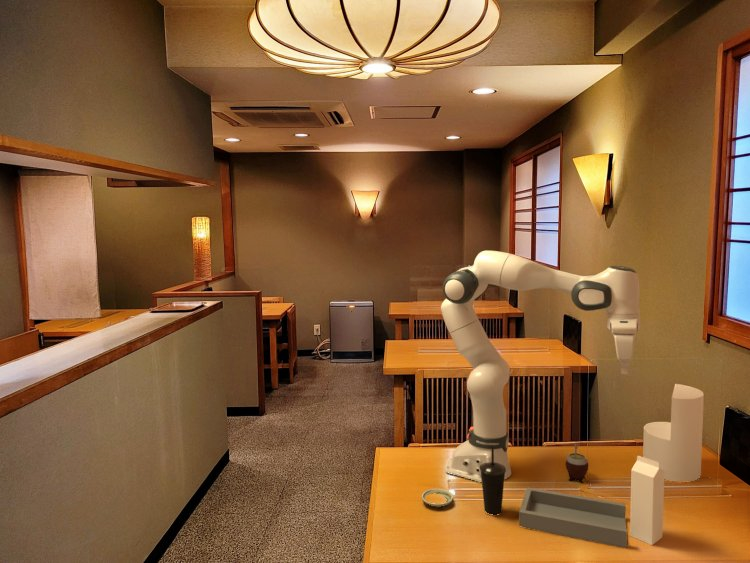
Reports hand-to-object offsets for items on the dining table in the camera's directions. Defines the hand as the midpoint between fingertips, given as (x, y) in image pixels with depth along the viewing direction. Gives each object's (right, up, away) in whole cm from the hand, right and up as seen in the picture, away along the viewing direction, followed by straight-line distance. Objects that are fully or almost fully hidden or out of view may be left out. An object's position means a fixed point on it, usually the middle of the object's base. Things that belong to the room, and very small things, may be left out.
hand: (624, 369), depth 155 cm
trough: (-15, -43, -3) cm, 46 cm away
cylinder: (+28, -39, +27) cm, 55 cm away
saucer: (-53, -44, +11) cm, 69 cm away
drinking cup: (-37, -44, +5) cm, 57 cm away
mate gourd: (-5, -41, +22) cm, 47 cm away
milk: (+1, -44, -10) cm, 45 cm away
